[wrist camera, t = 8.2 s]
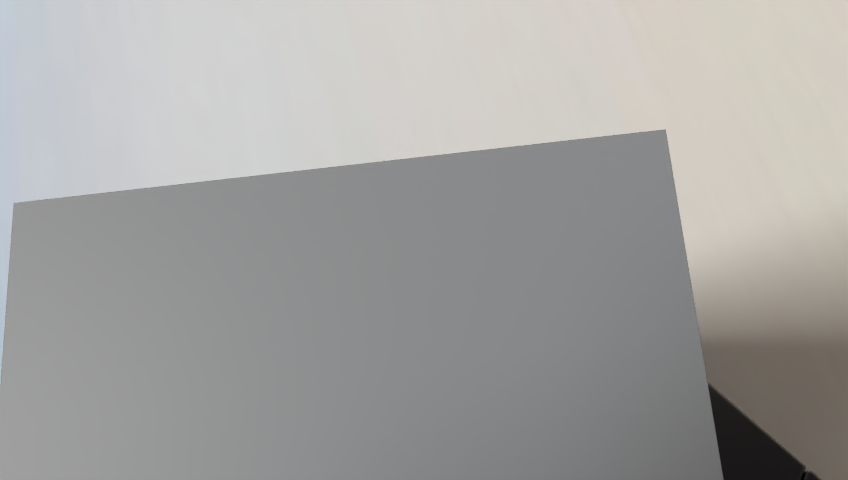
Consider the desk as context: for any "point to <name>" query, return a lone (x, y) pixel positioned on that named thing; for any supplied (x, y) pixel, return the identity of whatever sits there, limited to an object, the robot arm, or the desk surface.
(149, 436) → the leg
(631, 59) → the desk surface
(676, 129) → the desk surface
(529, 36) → the desk surface
